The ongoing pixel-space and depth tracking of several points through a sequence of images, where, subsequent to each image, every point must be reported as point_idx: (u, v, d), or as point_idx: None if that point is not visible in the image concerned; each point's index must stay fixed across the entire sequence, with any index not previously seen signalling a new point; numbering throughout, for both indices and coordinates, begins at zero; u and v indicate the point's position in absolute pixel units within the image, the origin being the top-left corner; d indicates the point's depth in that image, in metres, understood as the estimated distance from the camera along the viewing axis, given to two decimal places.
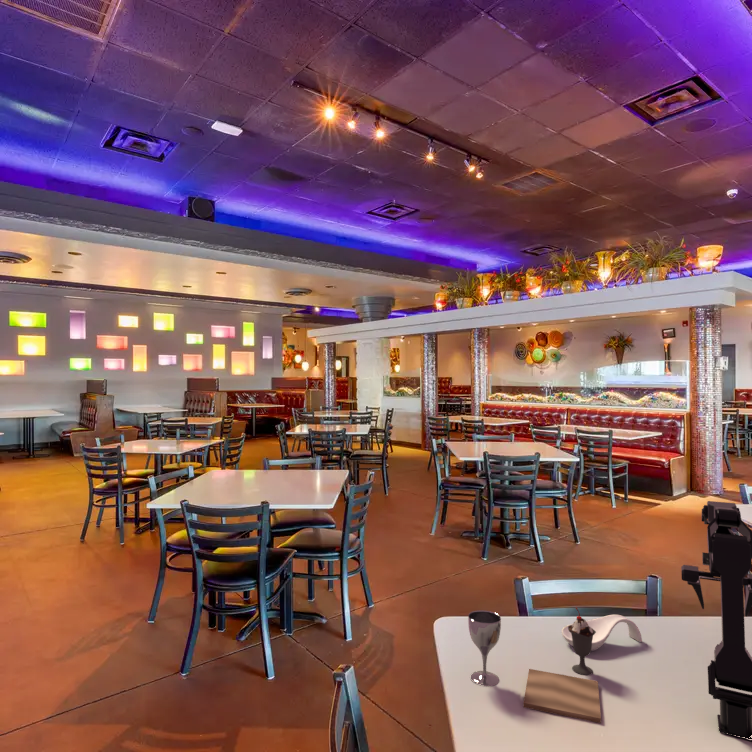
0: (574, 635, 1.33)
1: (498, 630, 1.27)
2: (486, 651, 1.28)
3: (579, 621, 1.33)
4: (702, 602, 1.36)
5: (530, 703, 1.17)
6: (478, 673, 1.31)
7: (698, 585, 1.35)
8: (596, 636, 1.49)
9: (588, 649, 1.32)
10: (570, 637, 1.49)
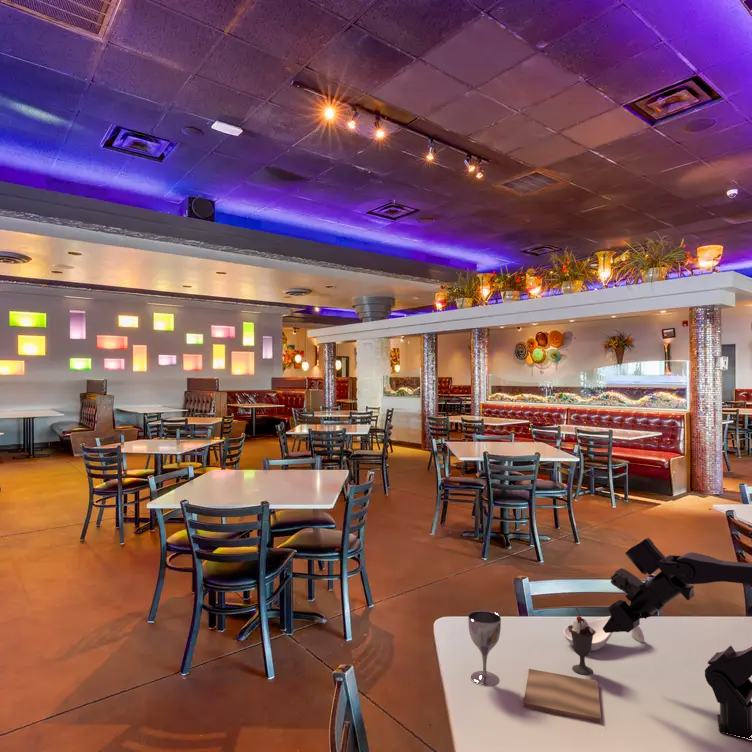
0: (574, 635, 1.33)
1: (498, 630, 1.27)
2: (486, 651, 1.28)
3: (579, 621, 1.33)
4: (613, 631, 1.24)
5: (530, 703, 1.17)
6: (478, 673, 1.31)
7: None
8: (598, 636, 1.49)
9: (588, 649, 1.32)
10: None
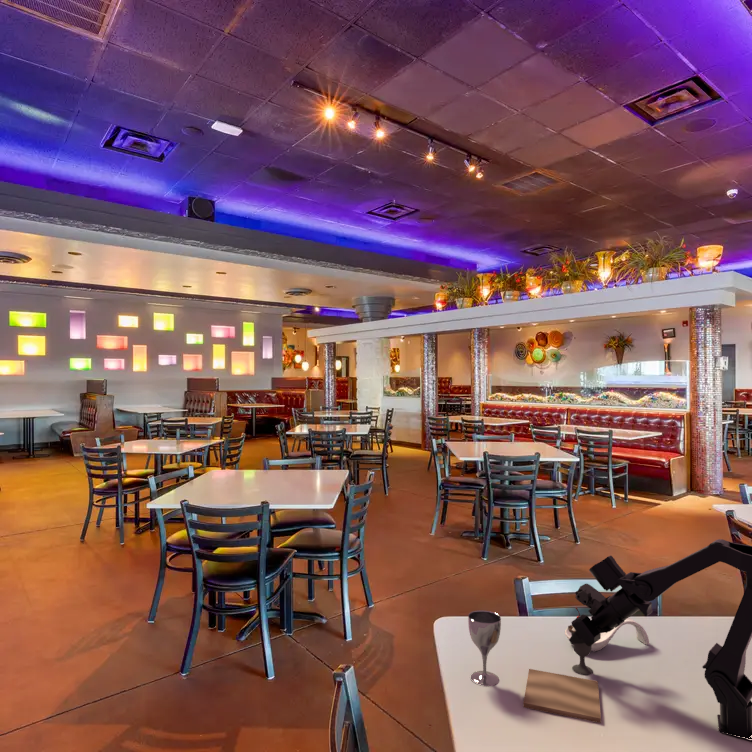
0: None
1: (498, 630, 1.27)
2: (486, 651, 1.28)
3: None
4: None
5: (530, 703, 1.17)
6: (478, 673, 1.31)
7: None
8: None
9: (588, 649, 1.32)
10: None
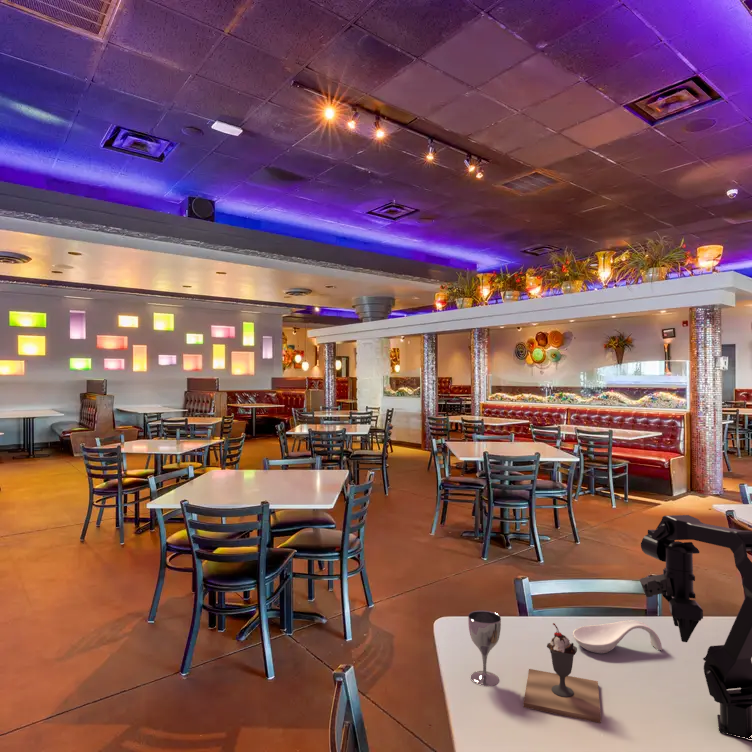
0: (558, 655, 1.20)
1: (498, 630, 1.27)
2: (486, 651, 1.28)
3: (561, 638, 1.21)
4: None
5: (530, 703, 1.17)
6: (478, 673, 1.31)
7: None
8: (610, 639, 1.46)
9: (571, 667, 1.21)
10: (582, 638, 1.48)
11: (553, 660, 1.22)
